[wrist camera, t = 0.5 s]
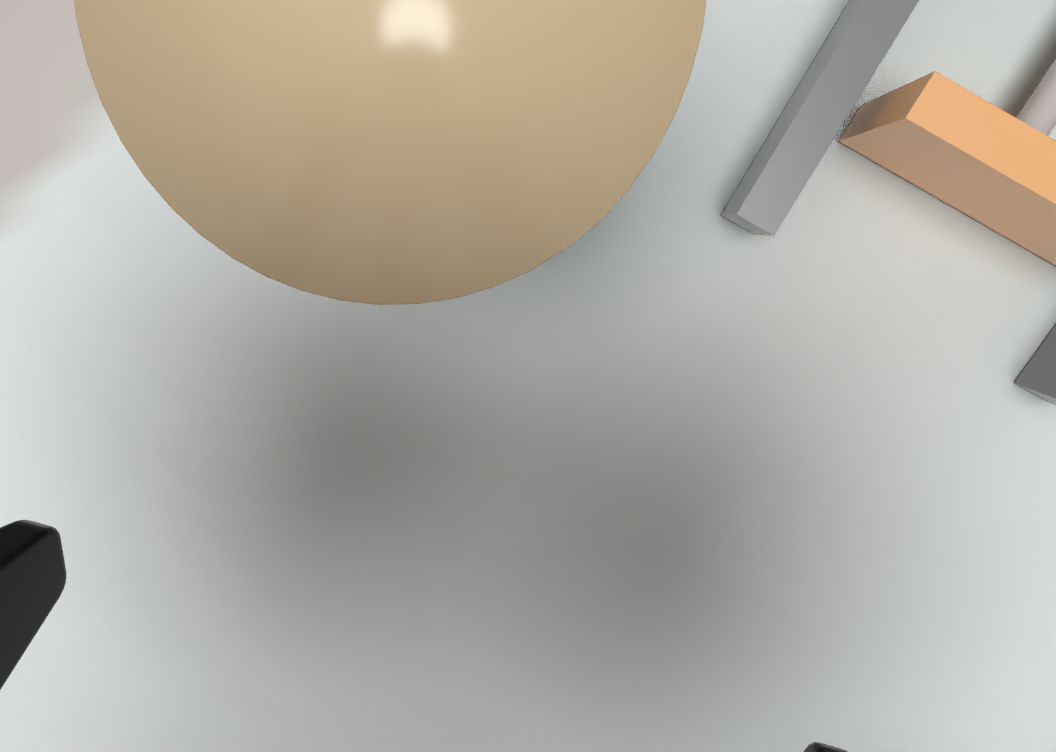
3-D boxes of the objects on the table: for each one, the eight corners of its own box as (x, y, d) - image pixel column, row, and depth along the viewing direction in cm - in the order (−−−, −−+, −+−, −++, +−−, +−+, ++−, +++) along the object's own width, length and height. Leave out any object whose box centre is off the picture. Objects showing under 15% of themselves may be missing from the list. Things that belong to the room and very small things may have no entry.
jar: (596, 282, 22) (588, 382, 8) (388, 216, 22) (23, 201, 8) (669, 58, 20) (811, -289, 7) (447, -10, 20) (136, -484, 7)
